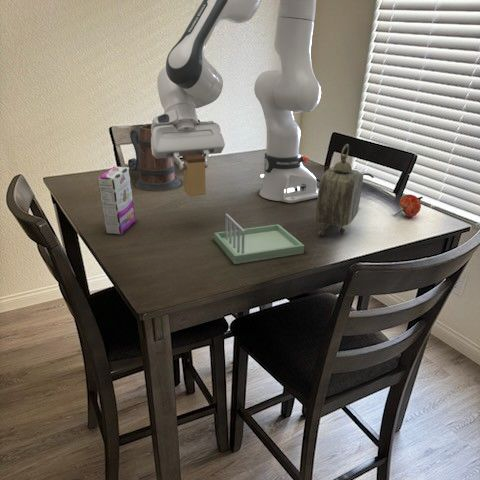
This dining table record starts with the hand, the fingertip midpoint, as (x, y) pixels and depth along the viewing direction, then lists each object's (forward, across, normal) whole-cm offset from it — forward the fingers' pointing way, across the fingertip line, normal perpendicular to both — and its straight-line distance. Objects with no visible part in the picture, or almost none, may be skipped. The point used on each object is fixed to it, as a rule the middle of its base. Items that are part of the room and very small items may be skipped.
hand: (194, 168), depth 130 cm
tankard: (-23, +1, -49) cm, 55 cm away
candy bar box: (+6, +20, -20) cm, 29 cm away
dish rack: (+24, -13, -2) cm, 27 cm away
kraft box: (+5, 0, -5) cm, 7 cm away
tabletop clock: (+23, -39, -4) cm, 45 cm away
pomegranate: (+20, -68, -7) cm, 71 cm away
